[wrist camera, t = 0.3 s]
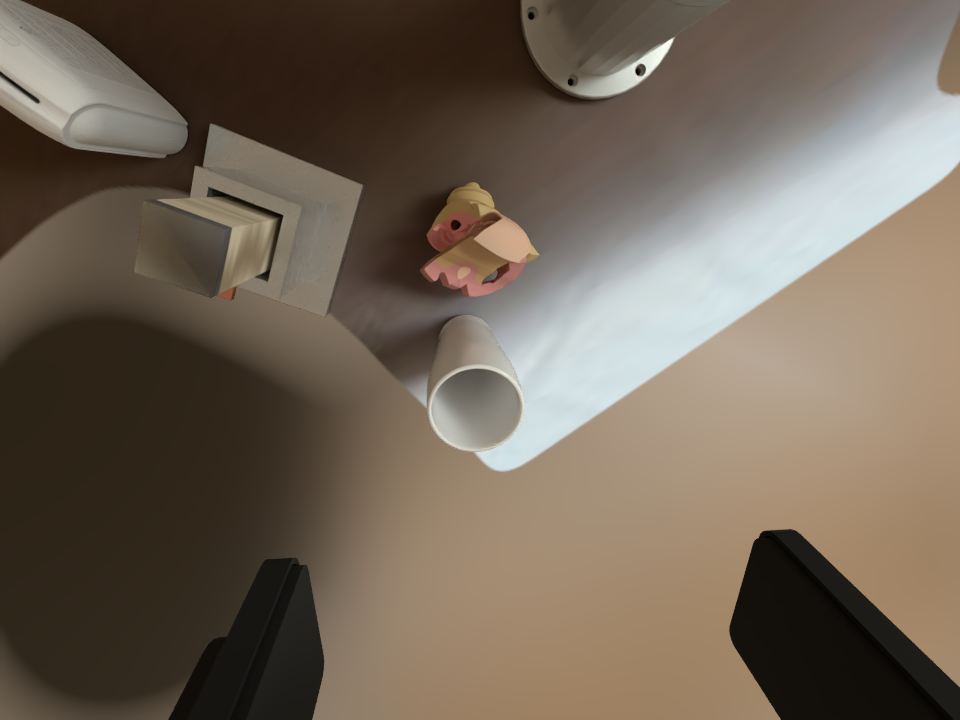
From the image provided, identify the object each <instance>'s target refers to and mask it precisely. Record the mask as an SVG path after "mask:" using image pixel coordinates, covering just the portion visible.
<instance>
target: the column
mask: <svg viewBox="0 0 960 720" xmlns="http://www.w3.org/2000/svg"><path fill="white" fill-rule="evenodd" d="M283 216H284V215H282V214H279V213H277V212H274V211H271V210H269V209H266V208H263V207H261V206H258V205H255V204H253V203H250V202H248V201H245V200H242V199H240V198H237V197H234V196H225V197H202V198H180V199H159V200H158V199H157V200H144V201H143V209H142V216H141V225H140V231H139V239H138V246H137V254H136V261H135V269H134V273H137V274H140V275H143V276H146V277H150V278H152V279H155V280H158V281H161V282H165V283H168V284H171V285H174V286H177V287H180V288H183V289H186V290H189V291H192V292H195V293H198V294H201V295H204V296H207V297H210V298H211V297H213V296H215V295H218V294H220V293H222V292H224V291H226V290H228V289H230V288H232V287H234V286H236V285H239V284H241V283H243V282H245V281H247V280H249V279H251V278H253V277H255V276H257V275H260V274H262V273H264V272H266V271H268V270H270V269H271V267H272V263H273V258H274V254H275V250H276V246H277V241H278V237H279V233H280V229H281V224H282V220H283Z"/></svg>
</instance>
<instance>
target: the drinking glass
mask: <svg viewBox="0 0 960 720" xmlns="http://www.w3.org/2000/svg"><path fill="white" fill-rule="evenodd" d="M524 408H525V405H524V397H523V394H522V390H521V386H520V383H519V380H518V377H517V374H516V372H515V370H514V368H513V366H512V364H511V362H510V360H509V359H508V357H507V356H506V354H505V353H504V351H503V350H502V348H501V347H500V345H499V344H498V342H497V340H496V339H495V337H494V336H493V333H492V331H491V329H490V327H489V326H488V324H487V323H486V322H485V321H483V320H482V319H480V318H479V317H476V316H473V315H460V316H457V317H454V318H452V319H451V320H449V321H448V322H447V323H446V324H445V325H444V327H443V328H442V330H441V332H440V335H439V341H438V347H437V350H436V354H435V357H434V360H433V363H432V367H431V370H430V374H429V379H428V385H427V416H428V420H429V423H430V426H431V427H432V429H433V431H434V433H435V434H436V435H437V436H438V437H439V438H440V439H441V440H442V441H443V442H445V443H446V444H448V445H449V446H451V447H453V448H456V449H459V450H463V451H469V452H479V451H486V450H490V449H493V448H495V447H497V446H499V445H501V444H503V443H504V442H506V441H507V440H508V439H509V438H511V437H512V436H513V435H514V433H515V432H516V431H517V429H518V428H519V426H520V424H521V422H522V419H523V416H524Z"/></svg>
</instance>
